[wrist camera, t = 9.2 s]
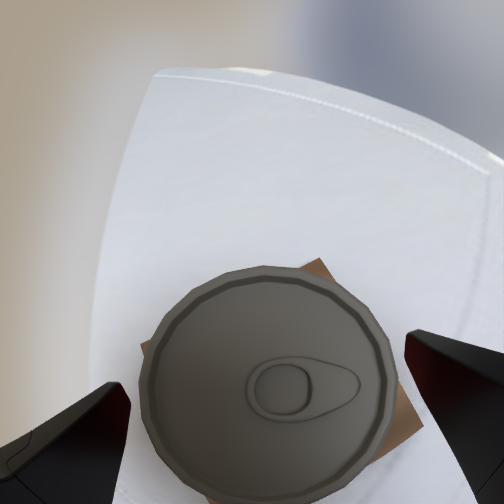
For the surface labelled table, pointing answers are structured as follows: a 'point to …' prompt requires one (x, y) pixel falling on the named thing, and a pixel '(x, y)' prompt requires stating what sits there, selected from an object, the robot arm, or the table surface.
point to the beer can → (268, 387)
